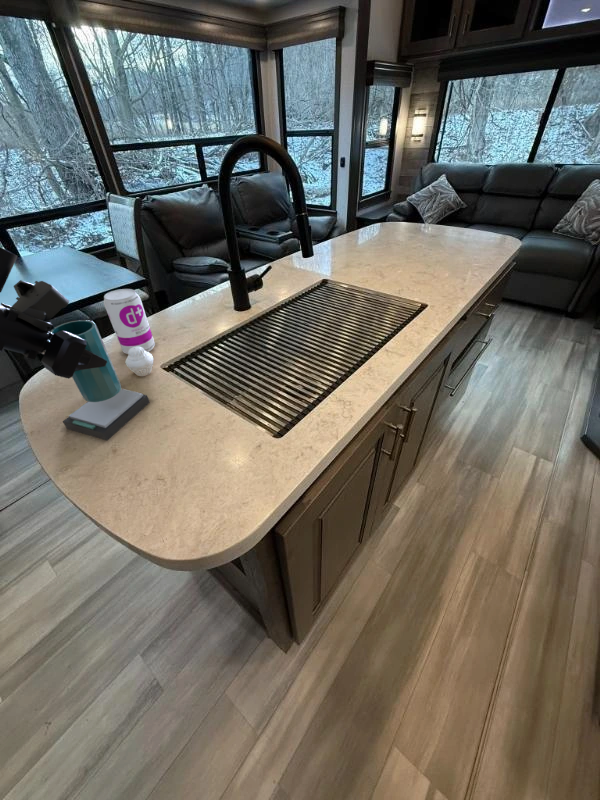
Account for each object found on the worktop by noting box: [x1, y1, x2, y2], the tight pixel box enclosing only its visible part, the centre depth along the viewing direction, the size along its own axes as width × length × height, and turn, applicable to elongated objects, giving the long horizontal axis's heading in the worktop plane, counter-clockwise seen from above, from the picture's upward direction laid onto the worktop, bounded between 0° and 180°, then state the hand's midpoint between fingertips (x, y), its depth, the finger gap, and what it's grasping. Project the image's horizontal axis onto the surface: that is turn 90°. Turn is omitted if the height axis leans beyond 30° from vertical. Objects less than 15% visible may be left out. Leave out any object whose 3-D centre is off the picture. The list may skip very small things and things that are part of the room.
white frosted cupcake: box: [124, 346, 154, 377], centre depth 78 cm, size 6×6×7 cm
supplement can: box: [103, 288, 156, 355], centre depth 84 cm, size 8×8×15 cm
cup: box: [50, 319, 122, 402], centre depth 59 cm, size 7×7×13 cm
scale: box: [62, 388, 151, 441], centre depth 67 cm, size 12×10×3 cm
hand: (95, 357), depth 60 cm, fingers closed on cup, 7 cm apart
